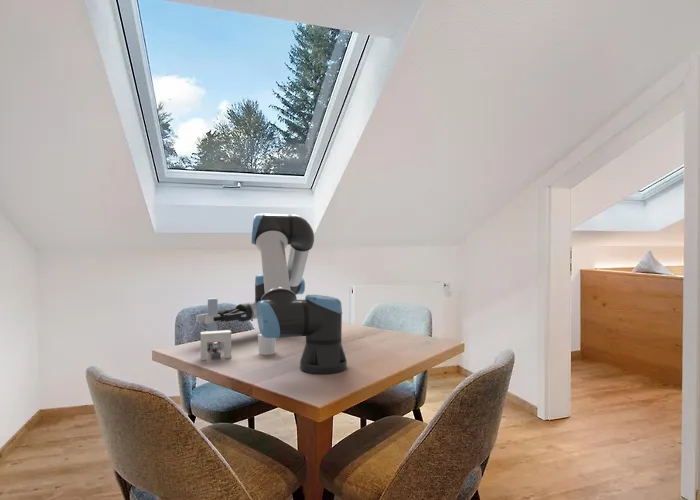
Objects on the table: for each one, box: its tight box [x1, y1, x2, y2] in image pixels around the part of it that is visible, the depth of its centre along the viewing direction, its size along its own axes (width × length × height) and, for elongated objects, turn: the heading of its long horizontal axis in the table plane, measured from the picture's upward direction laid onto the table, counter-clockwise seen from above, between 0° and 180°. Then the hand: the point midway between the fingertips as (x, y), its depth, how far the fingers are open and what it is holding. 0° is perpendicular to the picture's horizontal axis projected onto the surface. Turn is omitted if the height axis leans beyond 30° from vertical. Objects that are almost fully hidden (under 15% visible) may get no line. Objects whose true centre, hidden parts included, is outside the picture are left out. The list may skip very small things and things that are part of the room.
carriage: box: [205, 297, 222, 350], centre depth 169 cm, size 11×5×18 cm, turn 20°
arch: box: [200, 329, 232, 361], centre depth 152 cm, size 4×10×9 cm, turn 110°
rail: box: [208, 344, 222, 360], centre depth 162 cm, size 24×3×2 cm, turn 20°
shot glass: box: [257, 332, 277, 356], centre depth 159 cm, size 7×7×7 cm
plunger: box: [210, 342, 220, 350], centre depth 154 cm, size 9×3×3 cm, turn 20°
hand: (201, 319), depth 168 cm, fingers closed on carriage, 5 cm apart
